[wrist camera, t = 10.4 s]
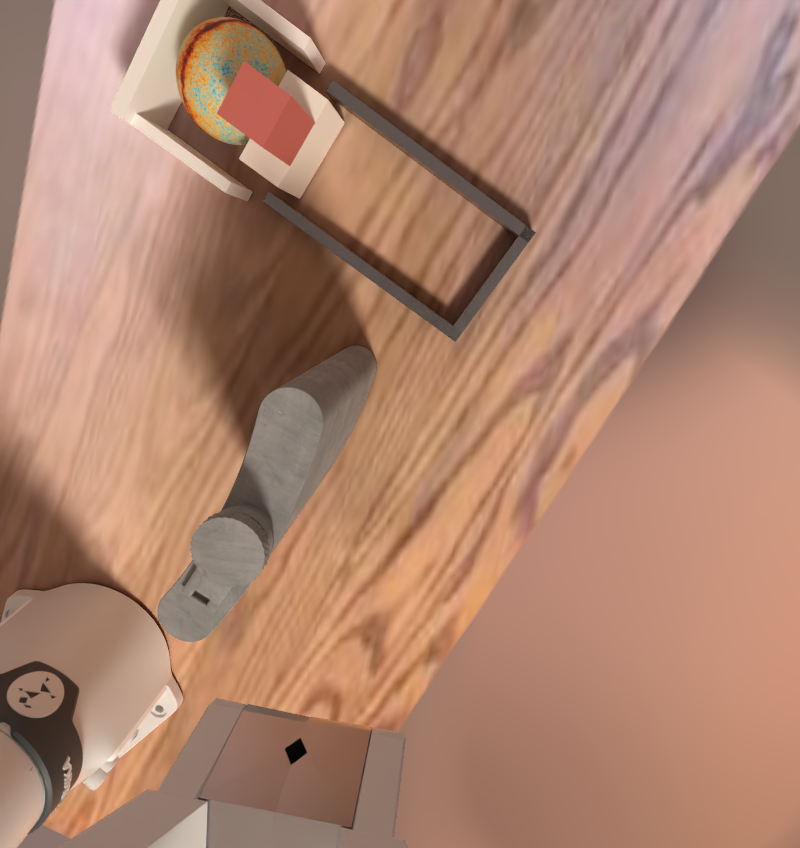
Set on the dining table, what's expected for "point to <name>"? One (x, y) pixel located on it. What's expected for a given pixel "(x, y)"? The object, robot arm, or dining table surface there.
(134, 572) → the dining table surface
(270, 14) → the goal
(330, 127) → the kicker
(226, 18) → the ball
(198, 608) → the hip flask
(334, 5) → the dining table surface
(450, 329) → the dark grey rectangular frame
